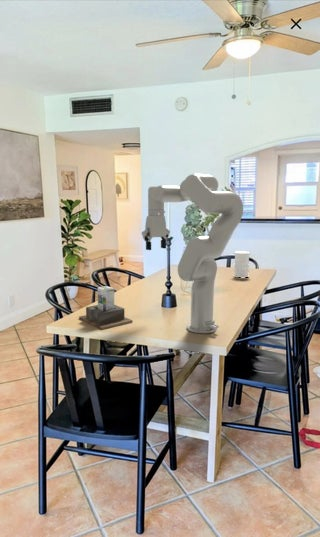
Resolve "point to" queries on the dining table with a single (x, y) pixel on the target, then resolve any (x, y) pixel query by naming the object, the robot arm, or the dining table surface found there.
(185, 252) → the robot arm
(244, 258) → the decorative container
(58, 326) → the dining table surface
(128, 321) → the socket stand
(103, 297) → the syrup box
